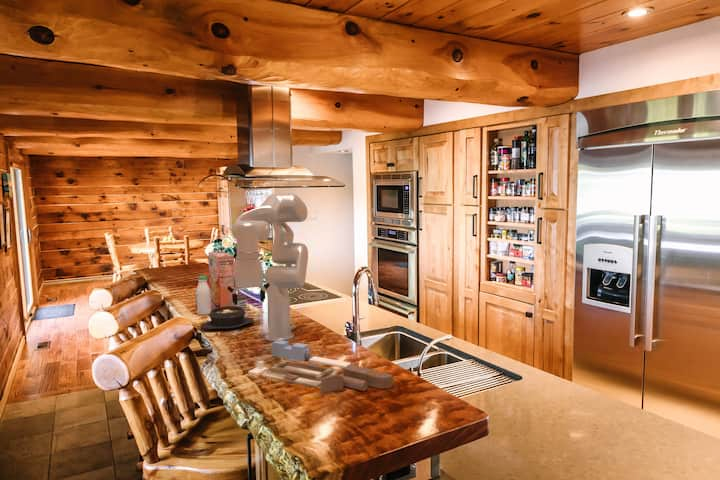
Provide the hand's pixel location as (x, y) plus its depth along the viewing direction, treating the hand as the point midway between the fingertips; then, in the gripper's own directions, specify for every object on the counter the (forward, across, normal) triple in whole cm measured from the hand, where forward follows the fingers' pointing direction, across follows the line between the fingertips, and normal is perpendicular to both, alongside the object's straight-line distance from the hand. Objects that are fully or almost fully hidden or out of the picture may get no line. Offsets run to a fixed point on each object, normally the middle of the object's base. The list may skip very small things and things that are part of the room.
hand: (249, 302), depth 179 cm
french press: (+24, -9, -77) cm, 81 cm away
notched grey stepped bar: (+23, -15, -1) cm, 28 cm away
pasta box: (+24, -4, -97) cm, 100 cm away
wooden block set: (+24, -26, +38) cm, 52 cm away
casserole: (+24, 0, -56) cm, 60 cm away
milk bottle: (+24, +7, -87) cm, 90 cm away
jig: (+23, -14, +18) cm, 33 cm away
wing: (+24, -27, +12) cm, 38 cm away
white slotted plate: (+23, -1, +10) cm, 25 cm away
